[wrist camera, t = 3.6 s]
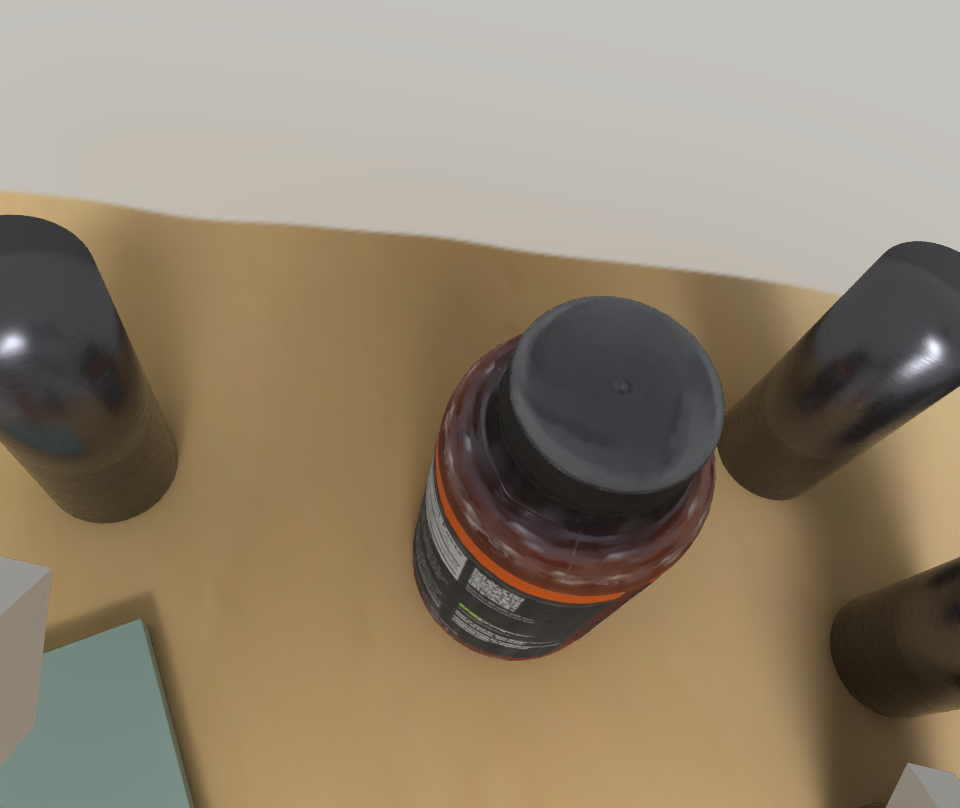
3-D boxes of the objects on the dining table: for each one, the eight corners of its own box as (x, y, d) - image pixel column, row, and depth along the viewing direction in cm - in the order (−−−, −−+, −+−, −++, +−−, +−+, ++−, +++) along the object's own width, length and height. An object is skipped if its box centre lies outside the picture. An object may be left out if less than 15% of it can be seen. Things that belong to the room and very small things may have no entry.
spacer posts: (690, 245, 31) (812, 49, 23) (1075, 854, 23) (1466, 876, 15) (34, 430, 24) (-118, 238, 16) (259, 1412, 16) (178, 2024, 8)
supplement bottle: (598, 476, 26) (761, 266, 16) (610, 669, 23) (814, 560, 13) (412, 463, 25) (461, 233, 15) (403, 661, 22) (454, 539, 12)
